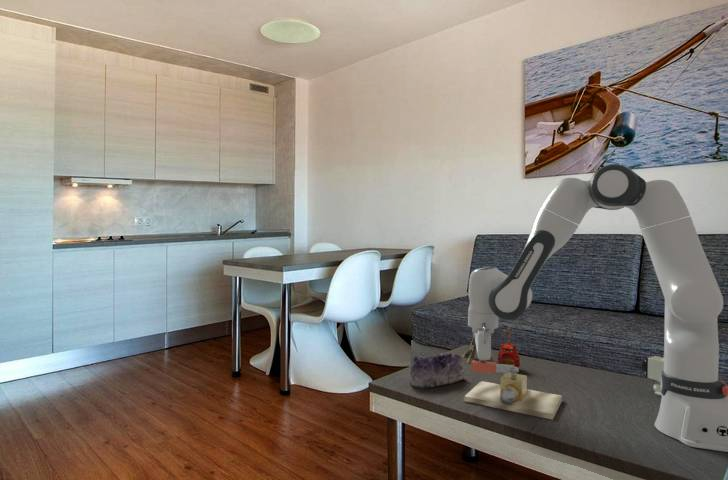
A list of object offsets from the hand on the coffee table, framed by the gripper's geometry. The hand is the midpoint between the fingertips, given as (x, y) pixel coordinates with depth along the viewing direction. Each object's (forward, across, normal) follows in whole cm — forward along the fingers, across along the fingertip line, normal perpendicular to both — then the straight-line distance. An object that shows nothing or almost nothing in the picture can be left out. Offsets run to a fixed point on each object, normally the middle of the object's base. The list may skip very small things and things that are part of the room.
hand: (482, 366), depth 139 cm
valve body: (+9, -3, -9) cm, 13 cm away
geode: (+9, +9, +14) cm, 19 cm away
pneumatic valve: (+9, +13, -55) cm, 57 cm away
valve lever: (+1, -3, -3) cm, 4 cm away
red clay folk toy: (+9, +29, -11) cm, 32 cm away
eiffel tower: (+9, +39, 0) cm, 40 cm away
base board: (+9, -3, -9) cm, 13 cm away
